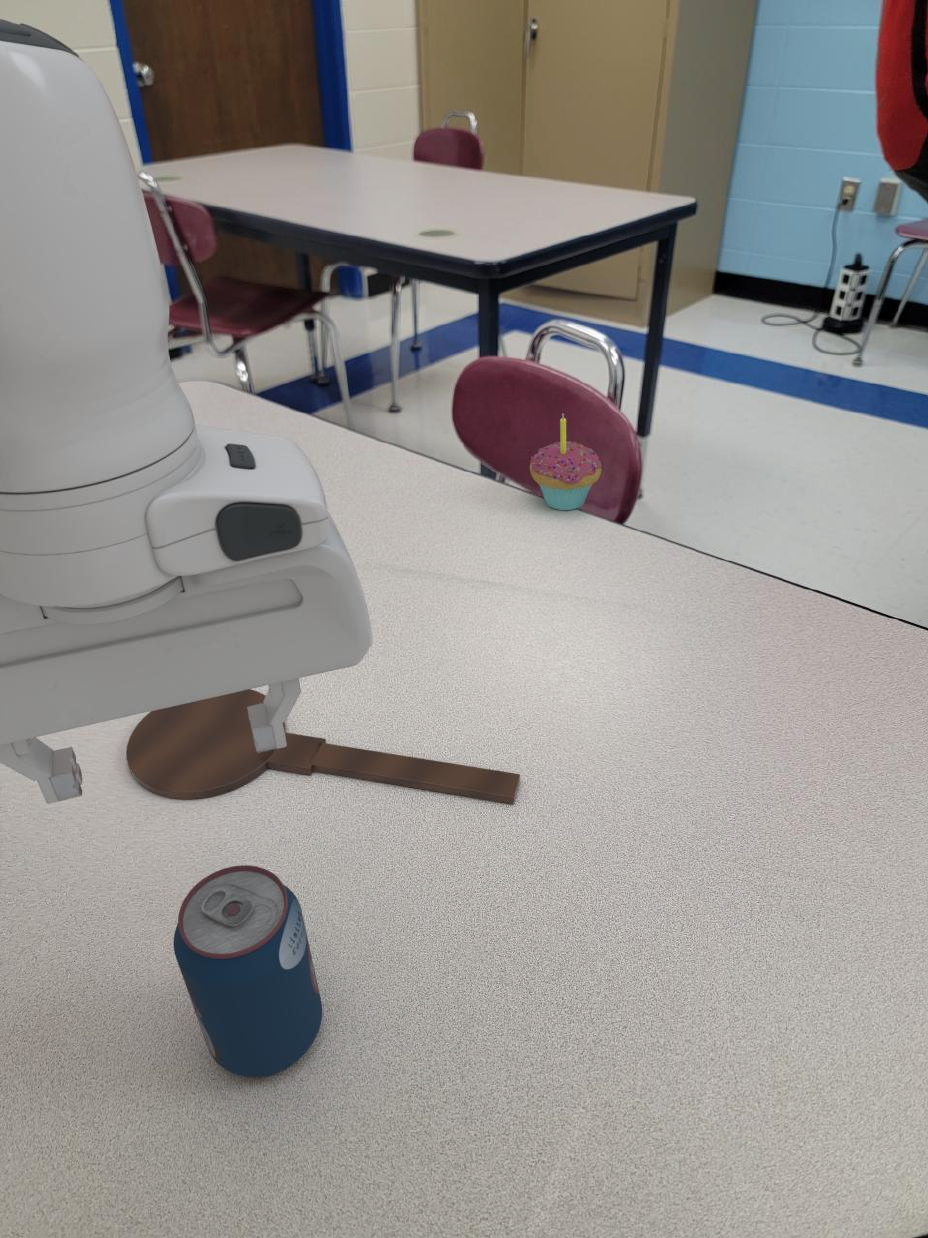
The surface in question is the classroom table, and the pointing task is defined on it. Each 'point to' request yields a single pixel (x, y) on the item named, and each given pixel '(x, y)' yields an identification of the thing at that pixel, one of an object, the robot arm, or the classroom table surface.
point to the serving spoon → (276, 756)
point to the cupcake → (565, 471)
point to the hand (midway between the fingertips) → (170, 766)
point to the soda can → (248, 970)
